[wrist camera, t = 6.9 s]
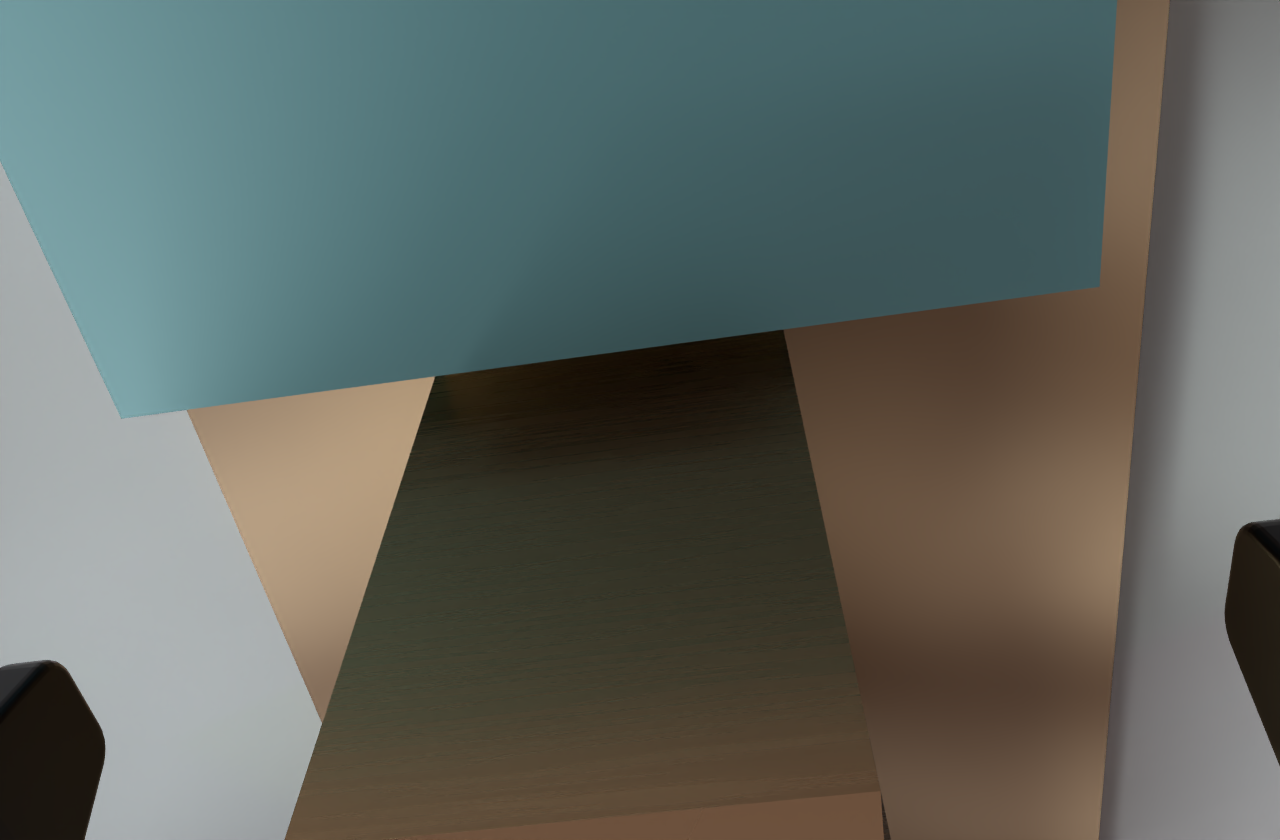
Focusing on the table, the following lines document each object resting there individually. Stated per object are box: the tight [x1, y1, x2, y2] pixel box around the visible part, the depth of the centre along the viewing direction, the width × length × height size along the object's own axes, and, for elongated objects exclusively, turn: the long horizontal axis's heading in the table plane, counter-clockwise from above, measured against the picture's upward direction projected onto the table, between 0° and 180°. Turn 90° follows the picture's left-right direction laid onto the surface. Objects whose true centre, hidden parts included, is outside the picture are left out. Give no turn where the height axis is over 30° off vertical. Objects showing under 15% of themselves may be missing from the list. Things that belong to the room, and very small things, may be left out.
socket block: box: [0, 0, 1117, 419], centre depth 11 cm, size 4×8×5 cm, turn 99°
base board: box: [187, 0, 1170, 840], centre depth 19 cm, size 28×13×1 cm, turn 9°
